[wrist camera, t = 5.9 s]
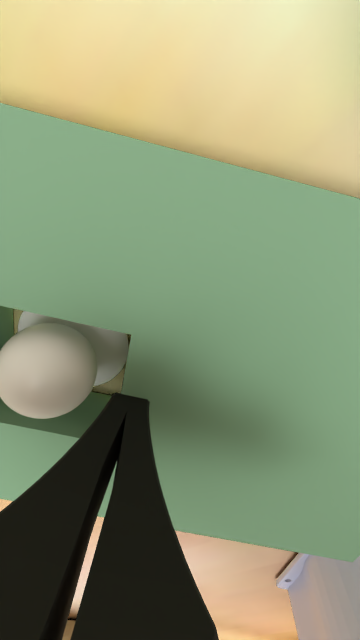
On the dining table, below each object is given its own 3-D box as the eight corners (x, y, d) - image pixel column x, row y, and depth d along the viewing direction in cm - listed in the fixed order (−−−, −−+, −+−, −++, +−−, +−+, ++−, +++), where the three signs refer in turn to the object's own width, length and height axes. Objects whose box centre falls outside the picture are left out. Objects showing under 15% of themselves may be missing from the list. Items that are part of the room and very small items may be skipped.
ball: (67, 360, 16) (114, 403, 14) (-13, 398, 13) (32, 458, 11) (62, 296, 14) (117, 337, 12) (-35, 326, 11) (16, 386, 9)
